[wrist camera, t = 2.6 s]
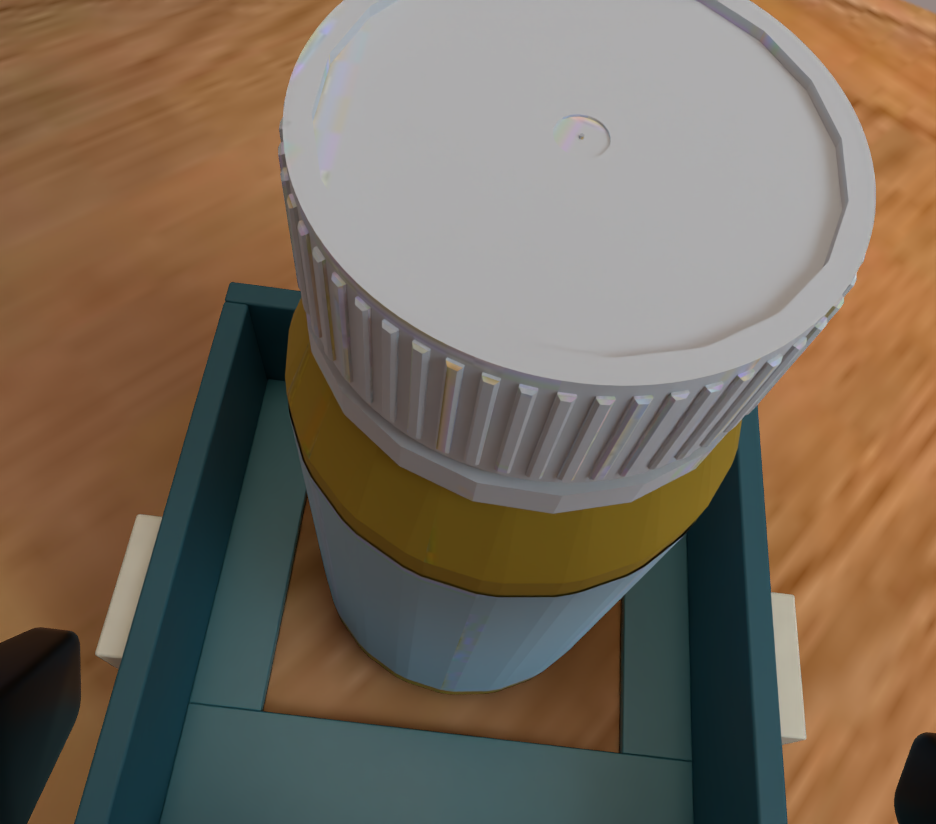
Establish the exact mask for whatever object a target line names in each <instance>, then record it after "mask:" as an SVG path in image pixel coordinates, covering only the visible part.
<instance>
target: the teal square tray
mask: <svg viewBox="0 0 936 824" xmlns="http://www.w3.org/2000/svg"><path fill="white" fill-rule="evenodd" d="M301 297H302V296H301V291H295V290H288V289H280V288H273V287H265V286H258V285H250V284H243V283H235V282H231V283H230V284H229V288H228V291H227V294H226V298H225V303H224V305H223V308H222V312H221V315H220V319H219V322H218V326H217V329H216V333H215V336H214V340H213V343H212V347H211V350H210V354H209V357H208V360H207V364H206V367H205V371H204V374H203V378H202V381H201V385H200V388H199V392H198V395H197V399H196V402H195V406H194V409H193V413H192V416H191V420H190V423H189V426H188V430H187V433H186V437H185V440H184V444H183V447H182V451H181V454H180V458H179V461H178V465H177V468H176V472H175V475H174V479H173V482H172V486H171V489H170V492H169V496H168V499H167V503H166V506H165V510H164V513H163V517H160V516H152V515H144V514H138V515H137V517H136V520H135V523H134V527H133V530H132V533H131V536H130V540H129V543H128V546H127V550H126V553H125V556H124V560H123V563H122V566H121V569H120V573H119V576H118V579H117V583H116V586H115V589H114V593H113V596H112V599H111V602H110V606H109V609H108V612H107V616H106V619H105V622H104V626H103V629H102V632H101V635H100V639H99V642H98V645H97V649H96V652H95V654H96V656H98V657H99V658H101V659H103V660H104V661H106V662H108V663H109V664H111V665H112V666H114V667H116V668H117V669H119V670H118V673H117V677H116V680H115V684H114V687H113V691H112V694H111V697H110V701H109V704H108V708H107V711H106V715H105V718H104V722H103V725H102V729H101V732H100V736H99V739H98V743H97V746H96V750H95V753H94V757H93V760H92V763H91V767H90V770H89V774H88V777H87V781H86V784H85V788H84V791H83V795H82V798H81V802H80V805H79V809H78V812H77V816H76V819H75V823H74V824H788V823H787V809H786V795H785V781H784V767H783V753H782V745H784V744H788V743H793V742H797V741H801V740H805V739H806V729H805V717H804V705H803V693H802V681H801V670H800V658H799V646H798V634H797V622H796V611H795V599H794V595H790V594H782V593H774V592H771V586H770V572H769V558H768V544H767V530H766V516H765V502H764V488H763V474H762V460H761V446H760V433H759V419H758V405H757V406H756V407H755V408H754V409H753V410H752V411H751V412H750V413H749V414H748V415H745V416H744V417H743V418H742V423H741V430H740V436H739V443H738V449H737V452H736V455H735V457H734V460H733V463H732V465H731V467H730V469H729V471H728V472H727V474H726V476H725V477H724V479H723V481H722V483H721V484H720V486H719V488H718V489H717V491H716V493H715V495H714V496H713V498H712V500H711V502H710V503H709V505H708V507H707V508H706V509H705V510H704V511H703V512H702V513H701V515H700V516H699V517H698V519H697V520H696V522H695V523H694V524H693V526H692V527H691V528H690V529H689V530H688V531H687V533H686V534H685V535H684V536H683V537H682V538H681V539H680V540H679V541H678V542H677V543H676V544H675V545H674V546H673V547H672V548H671V549H670V550H669V551H668V552H667V553H666V554H665V555H664V556H663V557H662V558H661V559H660V560H659V561H658V562H657V563H656V564H655V565H654V566H653V567H652V568H651V569H650V570H649V571H648V572H647V573H646V574H645V575H644V576H643V577H642V578H641V579H640V580H639V581H638V582H637V583H636V584H635V585H634V586H633V587H632V588H631V589H630V590H629V591H628V592H627V593H626V594H625V595H624V596H623V597H622V624H621V700H620V753H614V752H605V751H597V750H588V749H580V748H571V747H563V746H554V745H546V744H537V743H528V742H520V741H511V740H503V739H494V738H486V737H477V736H469V735H460V734H452V733H443V732H434V731H426V730H417V729H409V728H400V727H392V726H383V725H375V724H366V723H358V722H349V721H340V720H332V719H323V718H315V717H306V716H298V715H289V714H281V713H272V712H264V711H263V708H264V703H265V698H266V693H267V688H268V683H269V678H270V673H271V669H272V664H273V659H274V654H275V649H276V644H277V639H278V634H279V629H280V625H281V620H282V615H283V610H284V605H285V600H286V595H287V590H288V585H289V580H290V576H291V571H292V566H293V561H294V556H295V551H296V546H297V541H298V536H299V532H300V527H301V522H302V517H303V512H304V507H305V502H306V497H307V490H306V485H305V481H304V477H303V472H302V468H301V463H300V459H299V455H298V450H297V446H296V442H295V437H294V433H293V428H292V424H291V420H290V415H289V408H288V398H287V392H286V382H285V371H286V359H287V347H288V335H289V328H290V325H291V321H292V317H293V314H294V312H295V310H296V308H297V306H298V303H299V301H300V299H301Z"/></svg>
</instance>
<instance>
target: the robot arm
mask: <svg viewBox="0 0 936 824" xmlns="http://www.w3.org/2000/svg"><path fill="white" fill-rule="evenodd" d="M80 701H81V673H80V642H79V639H78V636H77V635H76V634H75V633H74V632H72V631H67V630H58V629H50V628H41V627H39V628H34V629H31V630H29V631H26V632H24V633H22V634H19V635H17V636H15V637H13V638H10V639H8V640H6V641H4V642H1V643H0V824H27V822H28V820H29V818H30V816H31V814H32V812H33V810H34V808H35V806H36V803H37V801H38V799H39V797H40V795H41V793H42V791H43V789H44V787H45V784H46V782H47V780H48V778H49V776H50V774H51V772H52V770H53V768H54V766H55V763H56V761H57V759H58V757H59V755H60V753H61V751H62V749H63V747H64V744H65V742H66V740H67V738H68V736H69V734H70V732H71V730H72V728H73V725H74V723H75V721H76V718H77V715H78V712H79V708H80ZM894 807H895V813H896V817H897V821H898V823H899V824H936V733H929V732H926V733H922V734H920V735H918V736H917V738H916V739H915V740H914V742H913V744H912V747H911V749H910V752H909V755H908V758H907V760H906V763H905V766H904V769H903V771H902V774H901V777H900V780H899V783H898V785H897V788H896V792H895V798H894Z"/></svg>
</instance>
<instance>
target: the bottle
mask: <svg viewBox="0 0 936 824" xmlns="http://www.w3.org/2000/svg"><path fill="white" fill-rule="evenodd" d="M279 132H280V138H281V143H280V145H279V147H278V155H279V162H280V168H281V181H282V187H283V193H284V200H285V206H286V212H287V219H288V225H289V231H290V238H291V244H292V250H293V257H294V263H295V269H296V276H297V282H298V287H299V288H300V290H301V296H302V297H301V299H300V301H299V303H298V306H297V308H296V310H295V312H294V314H293V317H292V321H291V325H290V328H289V335H288V347H287V359H286V371H285V382H286V392H287V398H288V408H289V415H290V420H291V424H292V428H293V433H294V437H295V442H296V446H297V450H298V455H299V459H300V463H301V468H302V472H303V477H304V481H305V485H306V490H307V494H308V499H309V503H310V507H311V512H312V516H313V521H314V525H315V529H316V534H317V538H318V543H319V547H320V551H321V556H322V560H323V564H324V569H325V573H326V577H327V580H328V584H329V587H330V591H331V594H332V598H333V601H334V605H335V607H336V609H337V612H338V614H339V616H340V618H341V620H342V622H343V623H344V625H345V626H346V628H347V629H348V630H349V632H350V633H351V635H352V636H353V638H354V639H355V641H356V642H357V644H358V645H359V646H360V648H361V649H362V650H363V651H364V652H365V653H366V654H367V655H368V656H369V657H370V658H372V659H373V660H374V661H376V662H377V663H378V664H380V665H381V666H382V667H384V668H385V669H386V670H388V671H389V672H390V673H392V674H393V675H394V676H396V677H398V678H400V679H402V680H404V681H406V682H408V683H411V684H414V685H417V686H420V687H423V688H426V689H430V690H433V691H436V692H439V693H445V694H486V693H492V692H497V691H500V690H502V689H505V688H508V687H511V686H514V685H516V684H519V683H522V682H525V681H527V680H529V679H531V678H533V677H534V676H536V675H538V674H539V673H541V672H543V671H544V670H545V669H547V668H548V667H549V666H550V665H551V664H553V663H554V662H555V661H556V660H558V659H559V658H560V657H561V656H563V655H564V654H565V653H566V652H567V651H569V650H570V649H571V648H572V647H573V646H574V645H575V644H576V643H577V642H578V641H579V640H580V639H581V638H582V637H583V636H584V635H585V634H586V633H587V632H588V631H589V630H590V629H591V628H592V627H593V626H594V625H595V624H596V623H597V622H598V621H599V620H600V619H601V618H602V617H603V616H604V615H605V614H606V613H607V612H608V611H609V610H610V609H611V608H612V607H613V606H614V605H615V604H616V603H617V602H618V601H619V600H620V599H621V598H622V597H623V596H624V595H625V594H626V593H627V592H628V591H629V590H630V589H631V588H632V587H633V586H634V585H635V584H636V583H637V582H638V581H639V580H640V579H641V578H642V577H643V576H644V575H645V574H646V573H647V572H648V571H649V570H650V569H651V568H652V567H653V566H654V565H655V564H656V563H657V562H658V561H659V560H660V559H661V558H662V557H663V556H664V555H665V554H666V553H667V552H668V551H669V550H670V549H671V548H672V547H673V546H674V545H675V544H676V543H677V542H678V541H679V540H680V539H681V538H682V537H683V536H684V535H685V534H686V533H687V531H688V530H689V529H690V528H691V527H692V526H693V524H694V523H695V522H696V520H697V519H698V517H699V516H700V515H701V513H702V512H703V511H704V510H705V509H706V508H707V507H708V505H709V503H710V502H711V500H712V498H713V496H714V495H715V493H716V491H717V489H718V488H719V486H720V484H721V483H722V481H723V479H724V477H725V476H726V474H727V472H728V471H729V469H730V467H731V465H732V463H733V460H734V457H735V455H736V452H737V449H738V443H739V436H740V430H741V423H742V418H743V417H744V416H745V415H748V414H749V413H750V412H751V411H752V410H753V409H754V408H755V407H756V406H757V405H758V403H759V402H760V401H761V400H762V399H763V398H764V396H765V395H766V394H767V393H768V392H769V391H770V390H771V388H772V387H773V386H774V385H775V384H776V383H777V382H778V380H779V379H780V378H781V377H782V376H783V375H784V373H785V372H786V371H787V370H788V369H789V368H790V367H791V365H792V364H793V363H794V362H795V361H796V360H797V358H798V357H799V356H800V355H801V354H802V353H803V352H804V350H805V349H806V348H807V347H808V346H809V345H810V343H811V342H812V341H813V340H814V339H815V338H816V337H817V335H818V334H819V333H820V332H821V331H822V330H823V328H824V327H825V326H826V325H827V323H828V322H829V321H830V319H831V318H832V317H833V316H834V315H835V314H836V312H837V311H838V310H839V309H840V307H841V306H842V305H843V303H844V296H845V295H846V294H847V293H848V292H849V291H850V289H851V288H852V287H853V286H854V284H855V282H856V273H857V271H858V269H859V267H860V265H861V264H862V263H863V261H864V258H865V253H866V250H867V248H868V244H869V241H870V237H871V233H872V229H873V224H874V217H875V206H876V185H875V175H874V169H873V163H872V158H871V154H870V150H869V147H868V143H867V140H866V137H865V134H864V132H863V129H862V127H861V124H860V122H859V120H858V118H857V115H856V113H855V111H854V110H853V108H852V106H851V104H850V102H849V100H848V99H847V97H846V95H845V94H844V92H843V90H842V89H841V88H840V86H839V85H838V83H837V82H836V80H835V79H834V78H833V76H832V75H831V74H830V72H829V71H828V70H827V68H826V67H825V66H824V65H823V64H822V62H821V61H820V60H819V59H818V58H817V57H816V56H815V55H814V53H813V52H812V51H811V50H810V49H809V48H808V47H807V46H806V45H805V44H804V43H803V42H802V41H801V40H800V39H799V38H798V37H796V36H795V35H794V34H793V33H792V32H791V31H790V30H789V29H787V28H786V27H785V26H784V25H783V24H781V23H780V22H779V21H778V20H776V19H775V18H774V17H772V16H771V15H770V14H768V13H767V12H766V11H764V10H763V9H761V8H760V7H759V6H757V5H755V4H754V3H752V2H751V1H749V0H344V1H343V2H341V3H340V4H339V5H338V6H337V7H336V8H335V9H334V10H333V11H332V12H331V13H330V14H329V15H328V16H327V17H326V18H325V19H324V21H323V22H322V23H321V24H320V25H319V27H318V28H317V29H316V30H315V32H314V33H313V34H312V36H311V38H310V39H309V41H308V42H307V44H306V45H305V47H304V49H303V51H302V52H301V54H300V56H299V58H298V61H297V63H296V65H295V67H294V70H293V73H292V75H291V78H290V82H289V85H288V88H287V93H286V98H285V102H284V112H283V118H282V120H281V122H280V127H279Z"/></svg>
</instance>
